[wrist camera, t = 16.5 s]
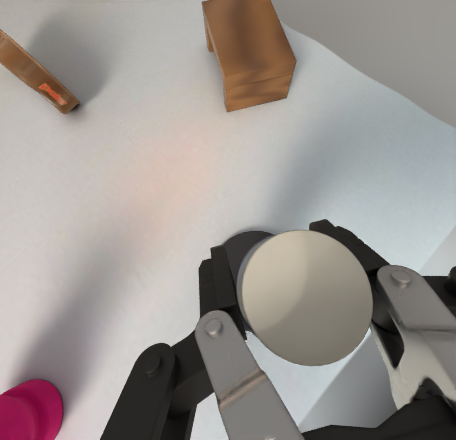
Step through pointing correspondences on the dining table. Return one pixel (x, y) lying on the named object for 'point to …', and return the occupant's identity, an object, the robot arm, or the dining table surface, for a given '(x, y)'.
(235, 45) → the shelf
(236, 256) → the mat
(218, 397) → the robot arm
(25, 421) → the pepper mill
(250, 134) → the dining table surface
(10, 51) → the tin
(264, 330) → the cylinder
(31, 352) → the dining table surface
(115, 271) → the dining table surface
